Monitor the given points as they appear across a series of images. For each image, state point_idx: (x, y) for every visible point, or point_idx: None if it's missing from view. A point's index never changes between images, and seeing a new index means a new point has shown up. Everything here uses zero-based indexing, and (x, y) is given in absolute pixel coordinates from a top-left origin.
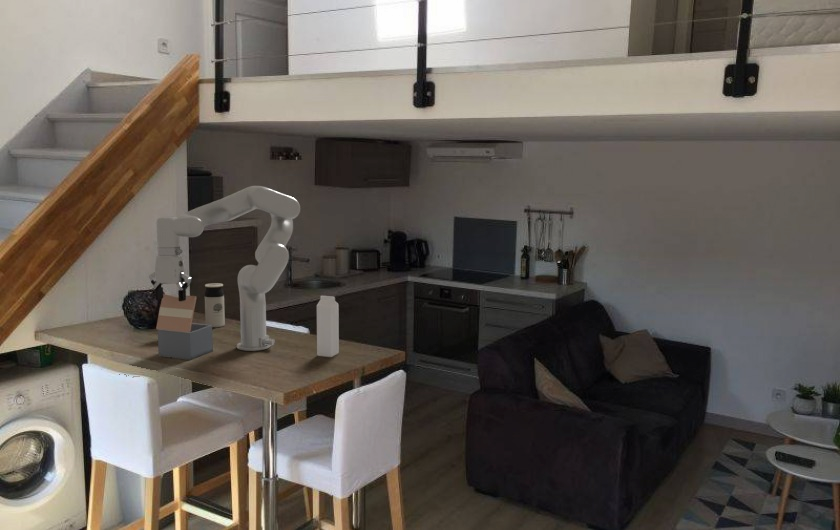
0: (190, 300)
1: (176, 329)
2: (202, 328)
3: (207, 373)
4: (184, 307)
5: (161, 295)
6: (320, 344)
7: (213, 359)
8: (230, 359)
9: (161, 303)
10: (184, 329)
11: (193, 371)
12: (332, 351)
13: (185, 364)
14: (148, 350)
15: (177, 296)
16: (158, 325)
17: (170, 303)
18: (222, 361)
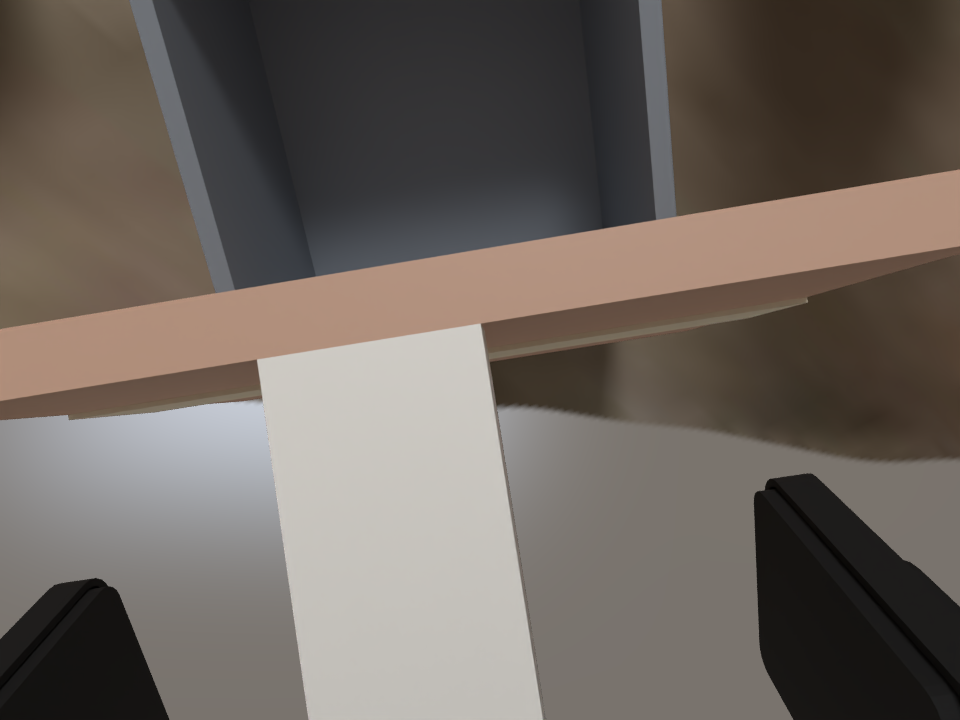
0: (793, 287)
1: (516, 357)
2: (661, 46)
3: (944, 433)
4: (609, 325)
5: (94, 686)
6: None
7: (767, 146)
8: (901, 68)
9: (24, 415)
10: (628, 338)
11: (827, 446)
12: None
13: (662, 358)
14: (94, 225)
15: (512, 513)
16: (248, 398)
17: (237, 380)
18: (872, 153)
